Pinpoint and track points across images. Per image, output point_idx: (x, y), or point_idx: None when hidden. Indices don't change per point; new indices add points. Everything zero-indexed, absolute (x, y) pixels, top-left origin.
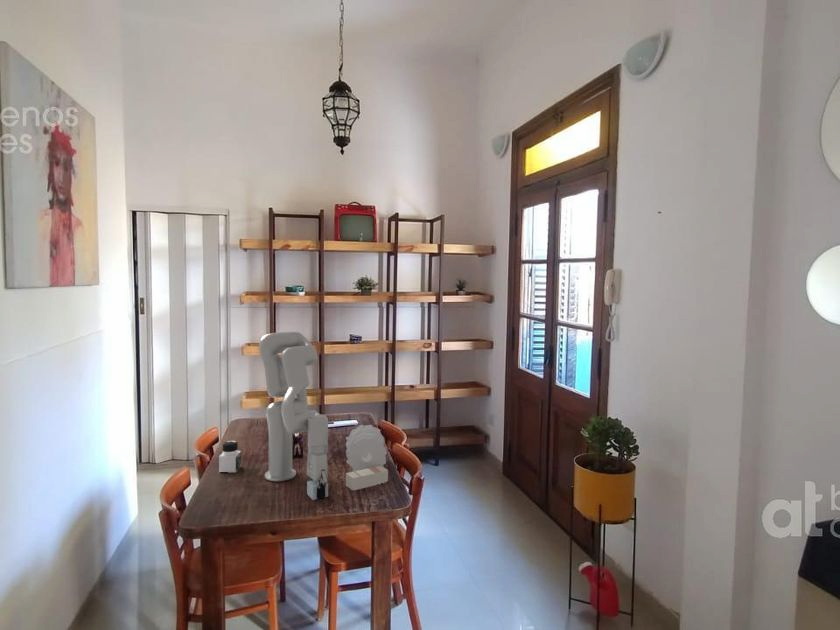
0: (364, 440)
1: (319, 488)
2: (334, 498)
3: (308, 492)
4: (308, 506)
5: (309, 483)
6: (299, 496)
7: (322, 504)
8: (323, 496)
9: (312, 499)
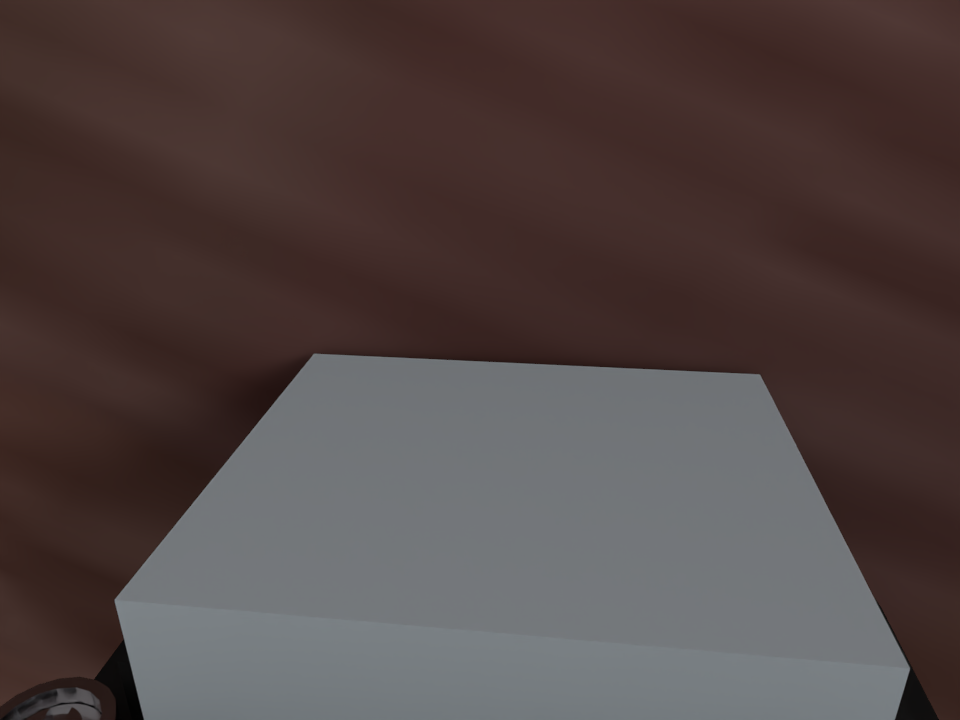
0: None
1: (26, 710)
2: None
3: (655, 411)
4: (8, 104)
5: (584, 646)
6: (787, 130)
7: (20, 433)
8: None
9: (354, 356)
